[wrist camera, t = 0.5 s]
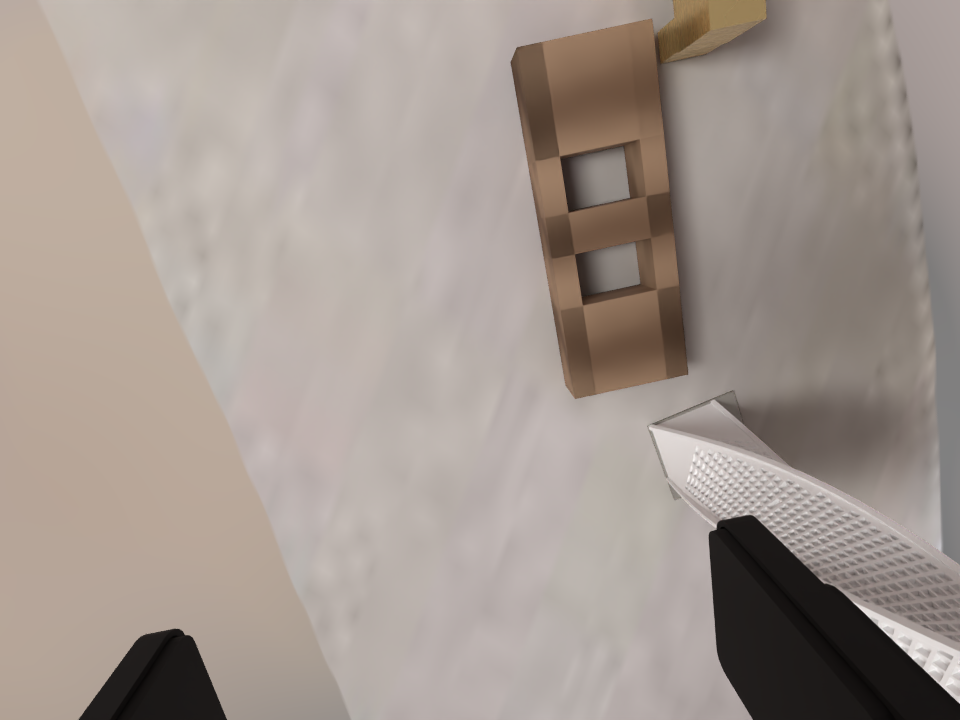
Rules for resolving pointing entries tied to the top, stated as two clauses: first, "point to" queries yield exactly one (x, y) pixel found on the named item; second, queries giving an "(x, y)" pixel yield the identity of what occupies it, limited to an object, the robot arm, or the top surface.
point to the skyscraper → (818, 530)
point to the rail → (641, 218)
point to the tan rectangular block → (706, 26)
